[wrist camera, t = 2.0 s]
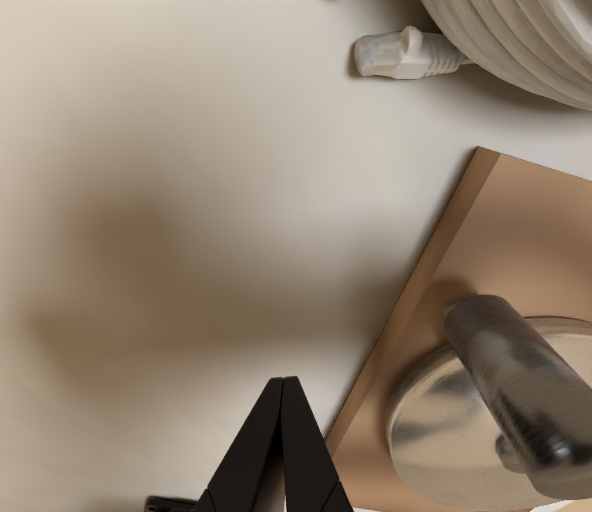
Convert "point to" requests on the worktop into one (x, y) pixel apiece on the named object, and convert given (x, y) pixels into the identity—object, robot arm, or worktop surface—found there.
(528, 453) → the metal disc with handle
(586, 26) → the cable
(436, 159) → the worktop surface
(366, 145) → the worktop surface
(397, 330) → the board
